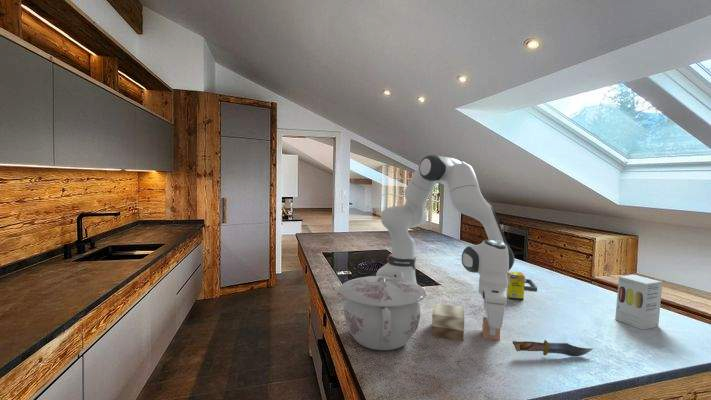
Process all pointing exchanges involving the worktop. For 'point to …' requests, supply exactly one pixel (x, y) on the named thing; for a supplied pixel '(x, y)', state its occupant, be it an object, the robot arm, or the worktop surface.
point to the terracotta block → (486, 330)
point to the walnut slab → (447, 333)
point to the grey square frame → (531, 285)
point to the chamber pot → (382, 310)
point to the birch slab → (448, 316)
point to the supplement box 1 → (515, 285)
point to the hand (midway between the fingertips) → (491, 329)
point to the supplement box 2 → (638, 301)
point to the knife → (551, 348)
